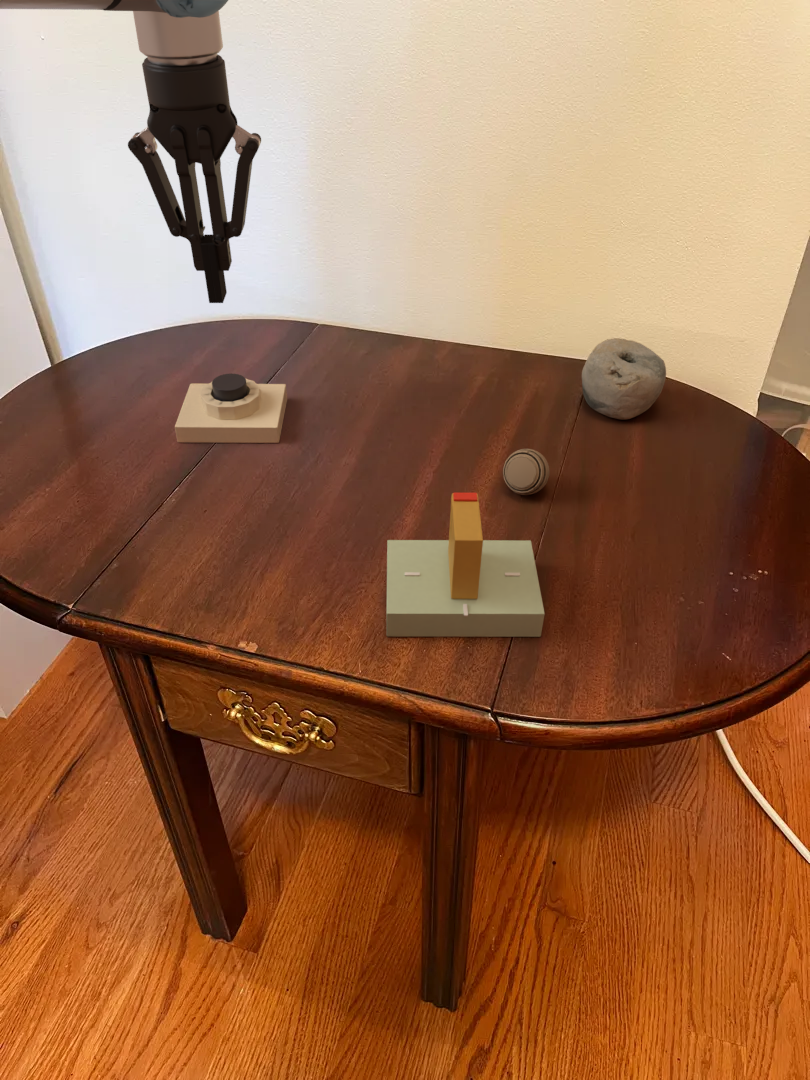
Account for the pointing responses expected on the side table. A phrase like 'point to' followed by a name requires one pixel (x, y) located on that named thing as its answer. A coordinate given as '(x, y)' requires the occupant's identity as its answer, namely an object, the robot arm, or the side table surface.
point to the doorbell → (232, 415)
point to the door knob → (526, 471)
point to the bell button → (229, 387)
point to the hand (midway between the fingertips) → (218, 297)
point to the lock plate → (430, 611)
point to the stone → (622, 378)
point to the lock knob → (465, 546)
